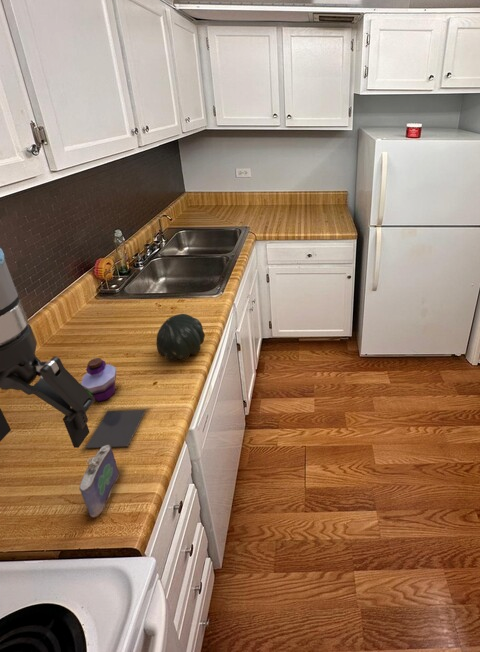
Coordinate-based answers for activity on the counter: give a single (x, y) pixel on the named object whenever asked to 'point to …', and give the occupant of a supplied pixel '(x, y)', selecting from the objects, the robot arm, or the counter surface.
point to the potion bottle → (100, 380)
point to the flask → (99, 480)
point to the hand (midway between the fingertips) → (41, 438)
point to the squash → (180, 337)
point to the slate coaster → (116, 429)
